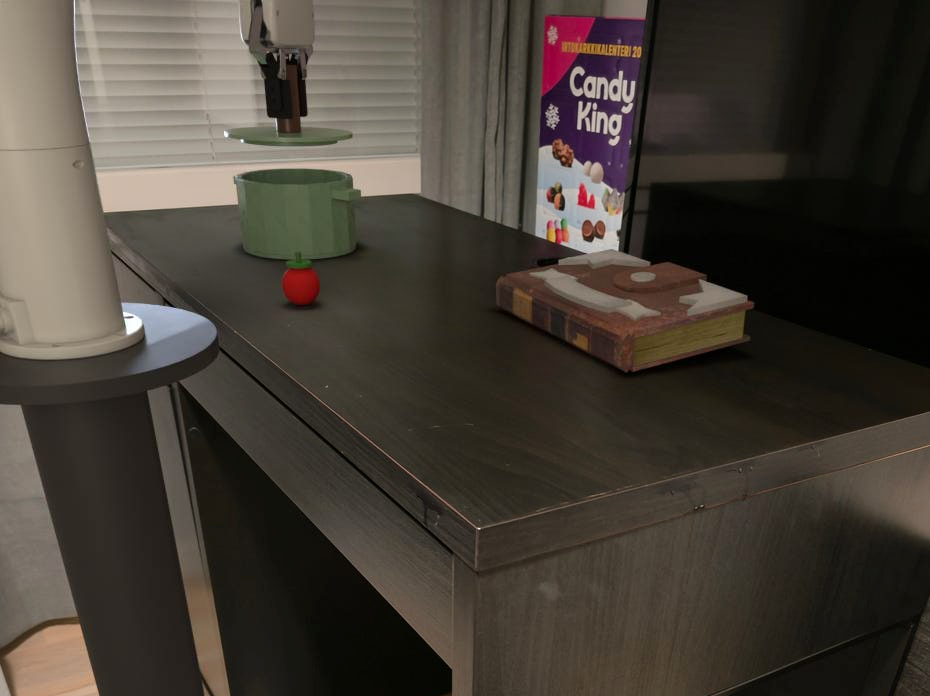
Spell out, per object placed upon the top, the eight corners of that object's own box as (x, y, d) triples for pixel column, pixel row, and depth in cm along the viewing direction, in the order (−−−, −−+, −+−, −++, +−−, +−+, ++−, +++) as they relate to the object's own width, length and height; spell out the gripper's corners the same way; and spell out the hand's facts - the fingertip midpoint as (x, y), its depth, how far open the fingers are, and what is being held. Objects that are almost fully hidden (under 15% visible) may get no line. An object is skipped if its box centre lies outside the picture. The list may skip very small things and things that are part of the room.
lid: (291, 151, 105) (284, 67, 101) (198, 140, 112) (188, 62, 108) (378, 142, 116) (376, 67, 111) (288, 133, 123) (283, 62, 119)
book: (497, 317, 98) (494, 268, 95) (618, 290, 103) (619, 243, 100) (620, 383, 81) (622, 326, 78) (757, 346, 86) (764, 291, 83)
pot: (318, 268, 112) (312, 191, 107) (206, 246, 121) (196, 174, 116) (394, 249, 122) (391, 178, 117) (284, 230, 131) (278, 163, 126)
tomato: (296, 311, 95) (291, 257, 92) (276, 303, 98) (270, 250, 95) (328, 305, 97) (324, 252, 94) (308, 298, 100) (304, 246, 97)
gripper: (280, -65, 110) (293, 112, 120) (202, -80, 97) (224, 119, 107) (336, -65, 108) (345, 115, 118) (264, -81, 95) (281, 123, 105)
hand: (287, 115), depth 112 cm, fingers closed on lid, 3 cm apart
